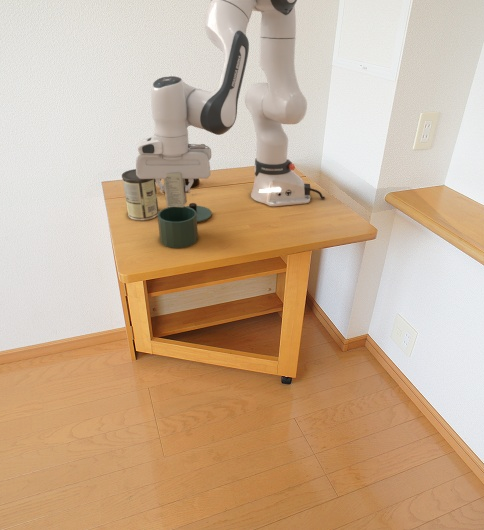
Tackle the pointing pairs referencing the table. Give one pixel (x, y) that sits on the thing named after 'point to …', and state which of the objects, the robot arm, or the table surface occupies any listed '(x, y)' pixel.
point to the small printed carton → (175, 190)
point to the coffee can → (140, 196)
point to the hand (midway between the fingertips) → (175, 192)
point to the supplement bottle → (195, 183)
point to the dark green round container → (178, 227)
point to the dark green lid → (200, 212)
